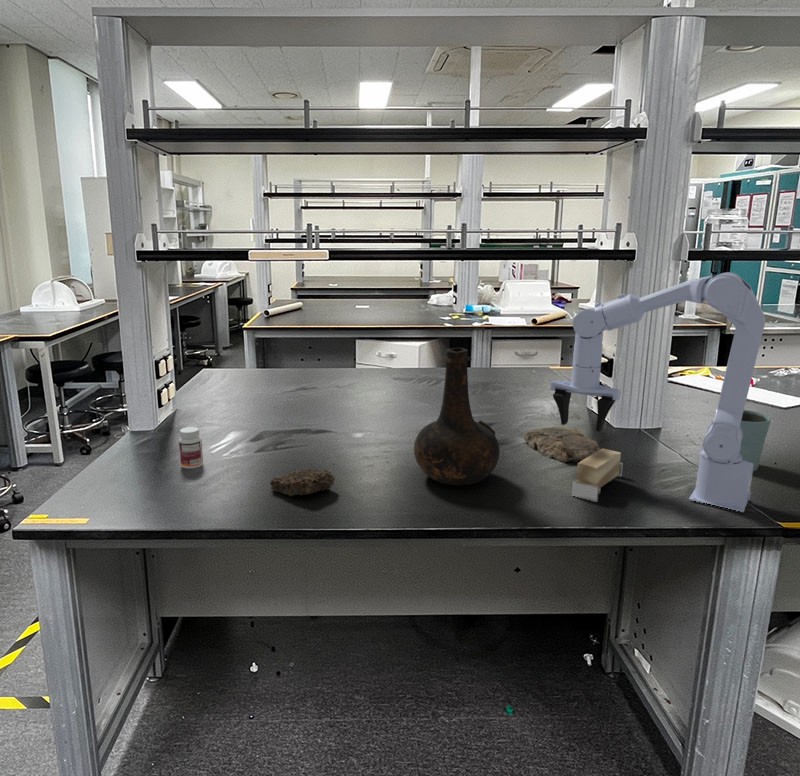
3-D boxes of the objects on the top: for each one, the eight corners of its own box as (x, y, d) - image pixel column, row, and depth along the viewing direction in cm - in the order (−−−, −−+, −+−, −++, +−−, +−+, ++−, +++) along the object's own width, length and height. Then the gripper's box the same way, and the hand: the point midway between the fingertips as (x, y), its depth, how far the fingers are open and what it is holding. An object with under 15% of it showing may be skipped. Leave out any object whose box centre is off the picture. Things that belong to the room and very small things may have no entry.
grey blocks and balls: (621, 476, 132) (622, 463, 131) (596, 502, 118) (597, 488, 118) (598, 470, 135) (599, 458, 134) (571, 496, 121) (572, 482, 121)
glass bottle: (512, 489, 124) (519, 355, 118) (429, 499, 119) (432, 359, 113) (477, 459, 141) (482, 340, 134) (403, 467, 136) (404, 343, 129)
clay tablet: (614, 465, 139) (570, 437, 158) (616, 445, 138) (572, 419, 156) (558, 472, 136) (520, 442, 155) (559, 451, 134) (521, 423, 153)
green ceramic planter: (731, 455, 145) (738, 406, 142) (772, 469, 137) (781, 418, 134) (702, 461, 141) (709, 412, 138) (744, 476, 132) (752, 424, 129)
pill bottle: (185, 461, 138) (182, 426, 136) (206, 461, 138) (203, 426, 136) (177, 469, 134) (174, 432, 132) (198, 469, 133) (196, 433, 131)
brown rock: (341, 493, 122) (340, 469, 121) (299, 508, 115) (299, 483, 114) (306, 477, 130) (306, 455, 129) (266, 490, 123) (265, 467, 122)
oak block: (618, 474, 129) (620, 452, 128) (594, 491, 120) (596, 468, 119) (600, 470, 132) (602, 448, 131) (575, 486, 123) (577, 463, 122)
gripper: (627, 366, 127) (621, 428, 130) (560, 358, 135) (556, 416, 139) (617, 372, 122) (611, 436, 125) (548, 363, 130) (544, 424, 133)
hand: (581, 426), depth 131 cm, fingers open, 7 cm apart
